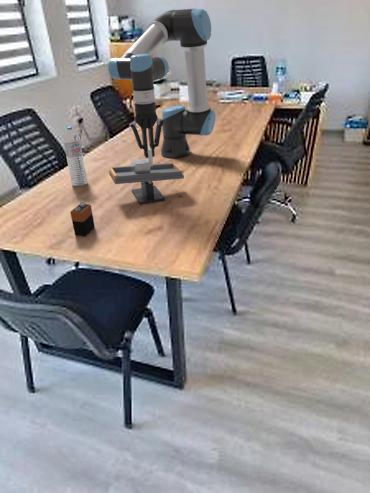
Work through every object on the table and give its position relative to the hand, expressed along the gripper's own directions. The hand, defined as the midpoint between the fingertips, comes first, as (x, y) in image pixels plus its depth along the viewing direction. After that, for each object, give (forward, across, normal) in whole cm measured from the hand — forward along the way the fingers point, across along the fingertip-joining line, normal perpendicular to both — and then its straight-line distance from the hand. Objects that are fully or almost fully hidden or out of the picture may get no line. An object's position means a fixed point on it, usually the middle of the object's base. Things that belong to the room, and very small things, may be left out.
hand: (150, 165), depth 156 cm
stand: (+13, -2, 0) cm, 13 cm away
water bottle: (+13, -26, +26) cm, 39 cm away
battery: (+13, -30, -20) cm, 38 cm away
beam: (+5, -2, 0) cm, 5 cm away
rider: (+3, -4, 0) cm, 5 cm away
